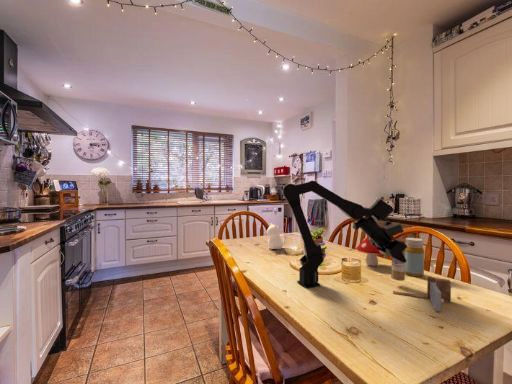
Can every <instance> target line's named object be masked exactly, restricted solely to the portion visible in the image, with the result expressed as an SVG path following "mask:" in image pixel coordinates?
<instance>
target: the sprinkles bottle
mask: <svg viewBox="0 0 512 384" xmlns="http://www.w3.org/2000/svg"><path fill="white" fill-rule="evenodd" d="M402 253H403V255H404V257H405V250H404V251H403V252H402ZM405 276H406V273H405V263H404V262H402V261H399V260H397V259H395V258H393V257H391V277H390V278H391V279H393V280H395V281H401V282H403V281H405V280H406V277H405Z"/></svg>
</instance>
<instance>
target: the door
mask: <svg viewBox="0 0 512 384" xmlns="http://www.w3.org/2000/svg"><path fill="white" fill-rule="evenodd" d="M429 300H430V302H431V303H432V304H431V305H432V306H433V308H434V310H435V311H436V312H440V313H441V312H442V311H441V310H442V303H445V302H444V299H441V292H440V290H439V289H438V287H437V285H436V284H435V283H434V282H430V299H429Z"/></svg>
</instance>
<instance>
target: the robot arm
mask: <svg viewBox="0 0 512 384" xmlns="http://www.w3.org/2000/svg"><path fill="white" fill-rule="evenodd" d="M281 191H282V195H283V197H284V199H285V201H286V203H288V206H289V207H290V209H291V212H292V214H293V217H294V220H295V223H296V225H297V228H298V230H299V234H300V236H301V238H302V242H303V243H302V244H303V249H304V250H303V251H304V255H303V256H302V257H300V258H299V262H300V264H301V267H299V270H298V271H299V275H298V277H299V280H296V283H297V284H299V285H300V286H302V287H304V288H306V289H310V288H314V287H319V286H321V283H319V271H318V270H319V266H321V265H322V264H323V262H324V257H323V256H325V254H324V252H323V251H322V245H321V244H320V243H319V241H316V242H315V241H314V238H313V236H312V235H313V234H312V233H311V230H310V227H309V225H308V222H307V219H306V217H305V213H304V211H303V208H302V203H301V195H303V194H308V193H310V192H312V193H313V194H315V195H317V197H318V196H319V197H320V198H322V199H324V200H325V201H327V202H328V203H330V204H332V205H334V206H335V207H337V208H338V209H339V210H340V212H342V213H343V214H344V215H345V216H347V217H348V218H351V219H352V220H355V221H353V222H352V228H353V230H355V231H357V230H359V229H361V231H363V233H364V234H365V235H366V237H368V238H370V244H371V245H372V246H374V247H376V246H378V248H377V249H378V250H380V251H382V252H384V253H386V254H385V255H387V256H388V257H391V258H392V257H393V258H395V259H397V260H399V261H402V262H404V263H405V262H406V261H407V260H406V258H405V257H404V255H403V253H402V252H403V251H404V250H405V249H406V248H407V245H406V242H405V241H403V240H400V239H395V236H396V235H398V234H402V233H404V231H405V230H404V228H403V226H402V223H400V222H397V221H396V222H395V221H392V222H391V221H390V220H386V219H387V218H388V217H389V216H390V215H391V214H392V213H394V212H395V209H394V208H393V207H392V206H391V204H389V203H387V202H386V201H384V200H383V199H382V198H378V199H376V200H375V202H374V203H372V205H371V206H369V207H364V206H363V205H361V204H359V203H356V202H354V201H351V200H349V199H345V198H343V197H341V196H339V195H338V194H336V193H335V192H333V191H332V190H330V189H328V188H326V187H325V186H323V185H322V184H320V183H318V181H316V180H309V181H307V182H303V183H302V182H301V183H299V184H294V183H287V184H285V185H284V186H283V188H282V190H281ZM385 220H386V221H385ZM379 221H380V222H383V227H382V226H381V225H380V224H379V223H377V222H379ZM393 239H394V240H393Z"/></svg>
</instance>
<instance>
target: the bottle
mask: <svg viewBox="0 0 512 384" xmlns="http://www.w3.org/2000/svg"><path fill="white" fill-rule="evenodd" d="M405 244H406V245H407V248H406V249H405V258H406V260H407V261H406V262H405V275H407V276H411V277H415V278H421V277H423V276H424V274H425V270H424V269H425V250H424V240H423V239H422V238H416V237H405Z"/></svg>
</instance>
